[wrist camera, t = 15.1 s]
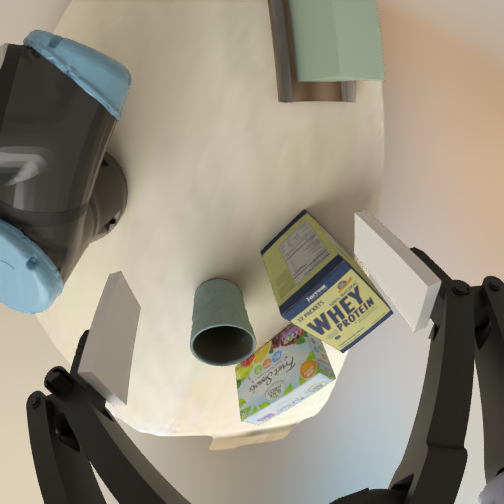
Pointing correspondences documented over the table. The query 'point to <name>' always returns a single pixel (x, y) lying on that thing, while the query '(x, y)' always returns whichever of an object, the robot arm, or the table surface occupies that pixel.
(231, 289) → the green cup
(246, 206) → the table surface
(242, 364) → the snack box
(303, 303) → the protein box
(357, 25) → the cracker box
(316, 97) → the facing shelf
